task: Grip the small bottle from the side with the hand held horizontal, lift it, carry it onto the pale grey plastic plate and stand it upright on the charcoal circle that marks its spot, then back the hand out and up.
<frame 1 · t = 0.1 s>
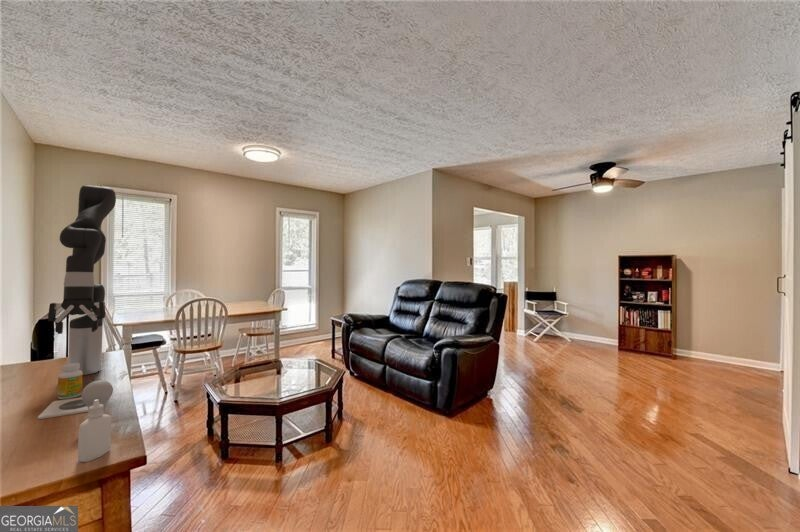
hand: (77, 332, 116), 17 cm above the table, tool pointing down, fingers open, 8 cm apart
layout plate: (77, 406, 98), on the table
lightbulb: (96, 424, 88), on the table
supplement bottle: (69, 396, 105), on the table
eye dropper bottle: (94, 456, 73), on the table
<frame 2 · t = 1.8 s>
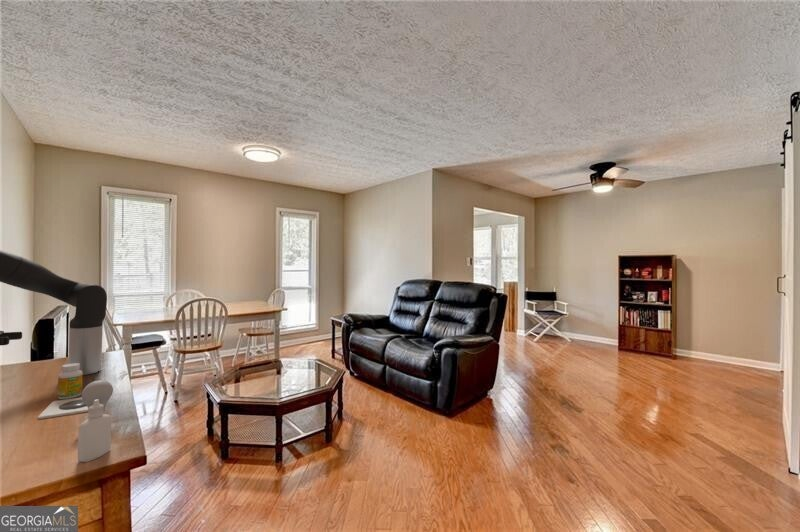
hand: (15, 338, 98), 19 cm above the table, tool horizontal, fingers open, 8 cm apart
nothing on the table moved.
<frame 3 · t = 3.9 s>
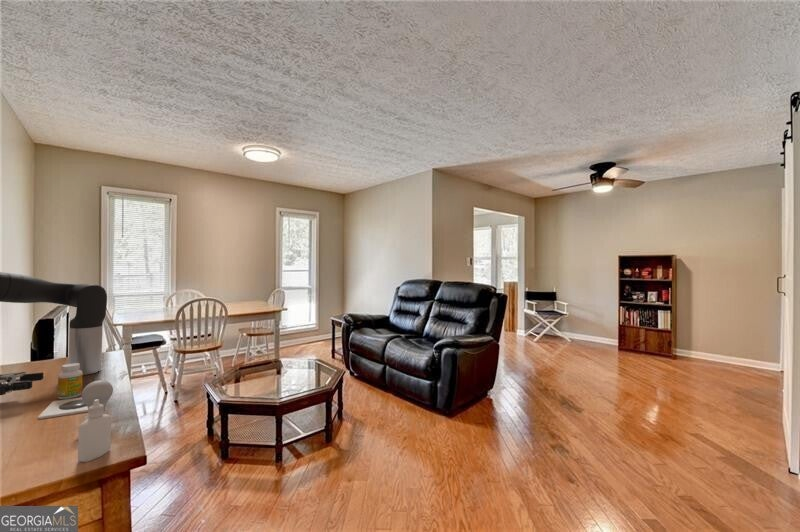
hand: (37, 380, 101), 6 cm above the table, tool horizontal, fingers open, 8 cm apart
nothing on the table moved.
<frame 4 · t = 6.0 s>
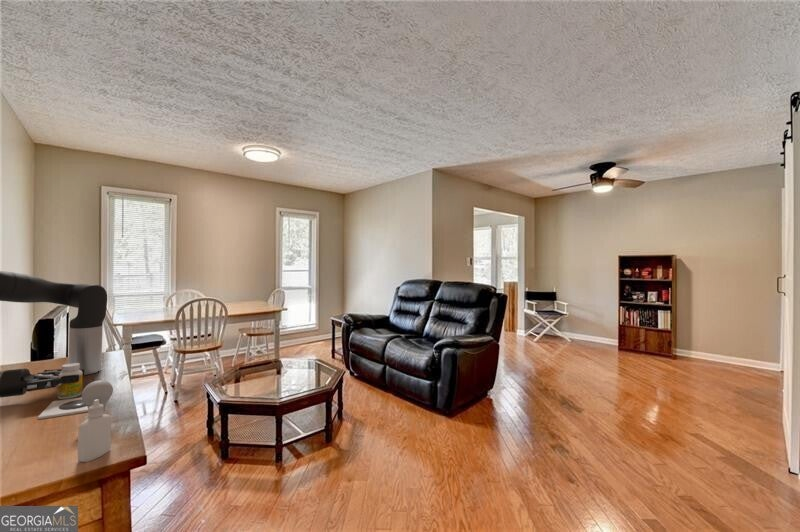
hand: (81, 375, 106), 6 cm above the table, tool horizontal, fingers closed on supplement bottle, 5 cm apart
supplement bottle: (69, 396, 105), on the table, touching gripper
everything else where it was.
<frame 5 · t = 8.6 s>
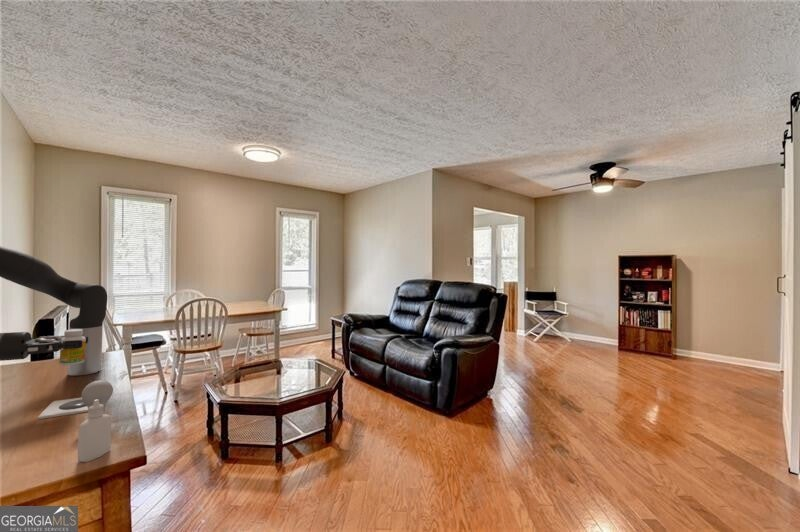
hand: (84, 341, 102), 18 cm above the table, tool horizontal, fingers closed on supplement bottle, 5 cm apart
supplement bottle: (72, 363, 100), point 11 cm above the table, touching gripper
everything else where it was.
when the fingers open (8 cm above the table, at t = 11.4 s): supplement bottle stays where it is, resting on layout plate.
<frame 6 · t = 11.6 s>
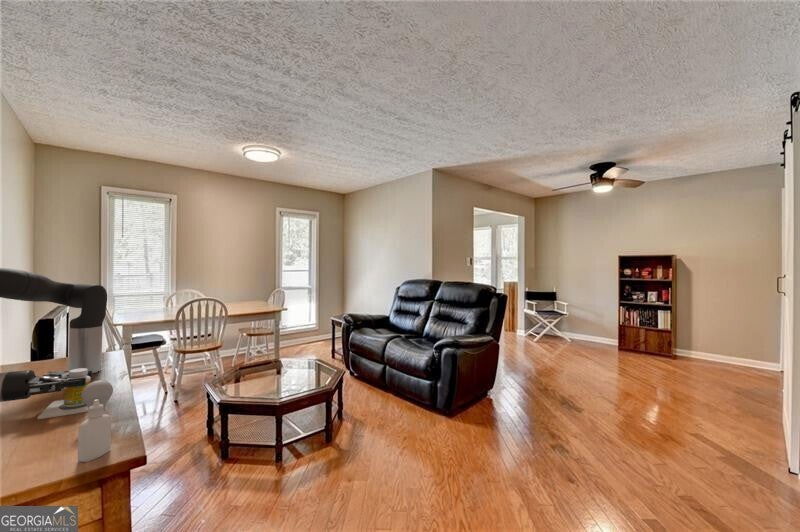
hand: (88, 377, 99), 8 cm above the table, tool horizontal, fingers open, 6 cm apart
supplement bottle: (76, 404, 97), point 1 cm above the table, touching layout plate
everything else where it was.
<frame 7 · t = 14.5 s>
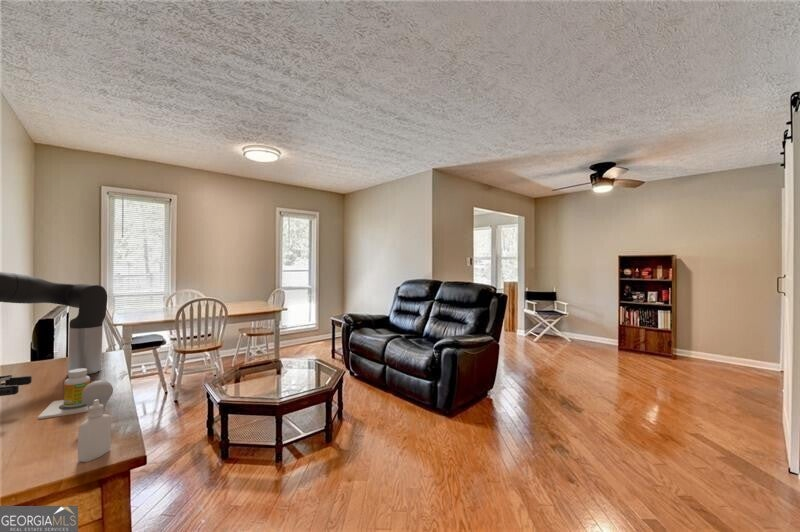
hand: (24, 384, 92), 8 cm above the table, tool horizontal, fingers open, 8 cm apart
nothing on the table moved.
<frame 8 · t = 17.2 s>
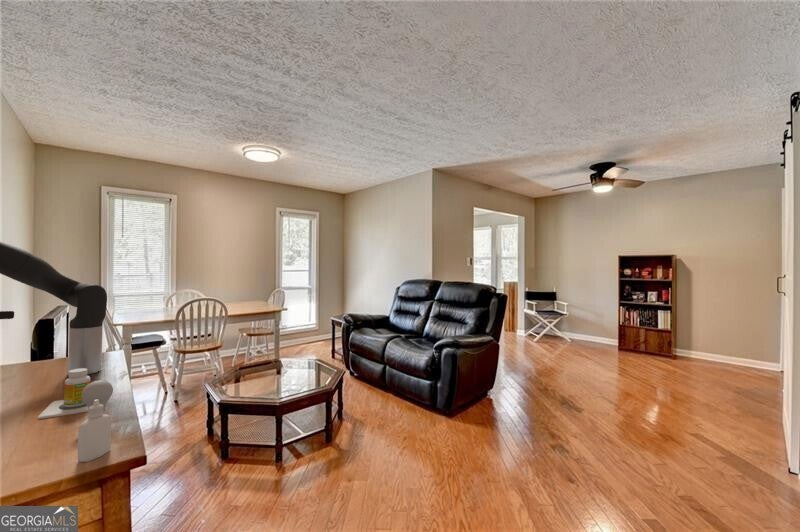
hand: (6, 316, 93), 26 cm above the table, tool horizontal, fingers open, 8 cm apart
nothing on the table moved.
at the end: supplement bottle 0.1 cm off-centre on the layout plate, point 0.5 cm above the layout plate's base; supplement bottle tilted 0°; the gripper is holding nothing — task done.
